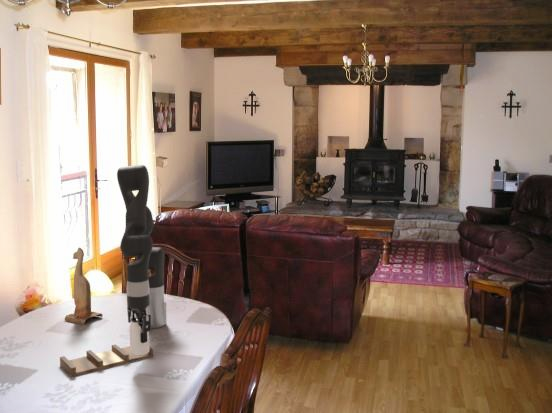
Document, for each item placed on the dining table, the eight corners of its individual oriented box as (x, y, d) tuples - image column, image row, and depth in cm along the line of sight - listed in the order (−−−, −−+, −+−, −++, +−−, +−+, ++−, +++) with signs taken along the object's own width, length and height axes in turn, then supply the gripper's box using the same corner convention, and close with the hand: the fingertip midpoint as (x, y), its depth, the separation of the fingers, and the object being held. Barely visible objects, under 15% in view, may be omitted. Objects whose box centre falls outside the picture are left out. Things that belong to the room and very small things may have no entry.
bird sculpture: (82, 314, 272) (77, 243, 267) (103, 317, 267) (98, 245, 262) (64, 322, 262) (58, 248, 257) (85, 325, 257) (80, 250, 252)
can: (131, 349, 215) (130, 316, 213) (150, 348, 216) (149, 316, 214) (129, 356, 209) (127, 322, 207) (148, 356, 209) (147, 322, 207)
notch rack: (139, 346, 234) (139, 338, 234) (153, 356, 225) (153, 348, 224) (60, 365, 216) (59, 357, 216) (71, 376, 207) (71, 368, 206)
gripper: (157, 295, 205) (158, 343, 208) (139, 285, 217) (140, 330, 219) (136, 299, 201) (138, 348, 204) (119, 289, 212) (120, 335, 215)
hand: (139, 339), depth 212 cm, fingers closed on can, 6 cm apart
